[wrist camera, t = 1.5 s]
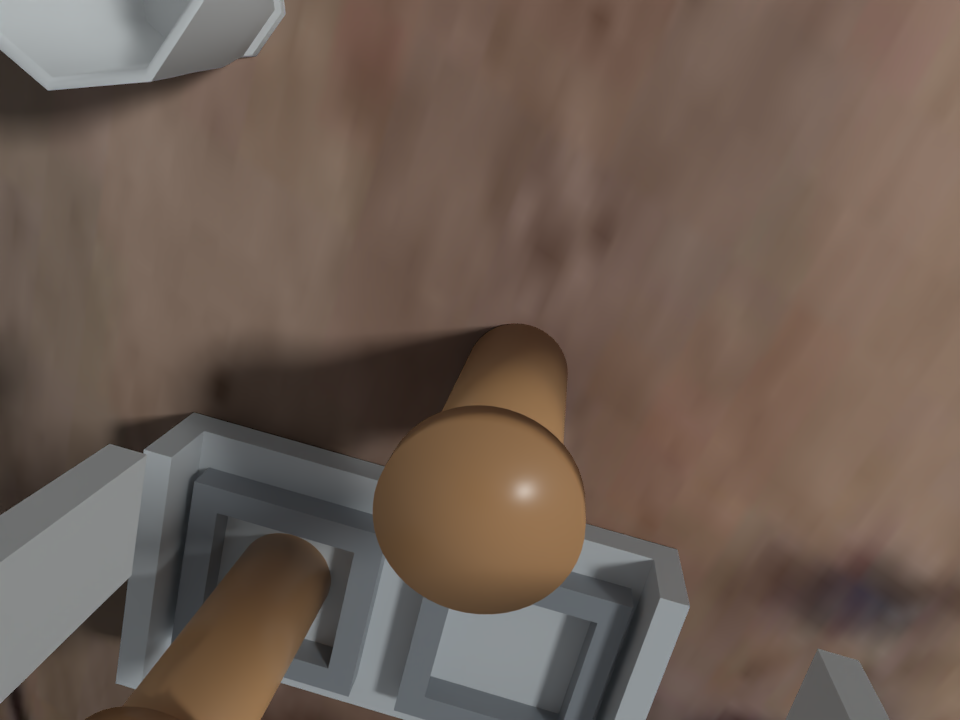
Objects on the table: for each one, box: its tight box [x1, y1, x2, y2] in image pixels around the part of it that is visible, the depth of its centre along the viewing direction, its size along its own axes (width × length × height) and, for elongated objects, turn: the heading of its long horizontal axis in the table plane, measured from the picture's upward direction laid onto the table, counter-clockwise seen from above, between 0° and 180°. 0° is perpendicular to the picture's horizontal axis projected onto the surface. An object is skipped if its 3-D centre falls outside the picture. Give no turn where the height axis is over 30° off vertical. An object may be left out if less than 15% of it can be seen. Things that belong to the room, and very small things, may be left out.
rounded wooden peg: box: [85, 533, 331, 720], centre depth 25 cm, size 5×5×11 cm
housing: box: [116, 413, 690, 720], centre depth 29 cm, size 10×19×4 cm, turn 76°
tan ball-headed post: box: [373, 324, 586, 614], centre depth 23 cm, size 5×5×11 cm
